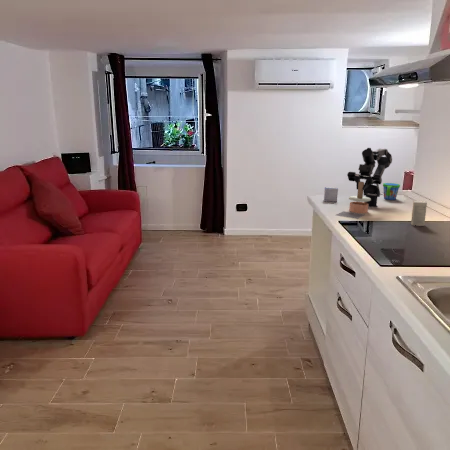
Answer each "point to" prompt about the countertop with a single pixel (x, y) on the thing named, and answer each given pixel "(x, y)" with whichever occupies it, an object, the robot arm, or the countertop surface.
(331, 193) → the medicine box
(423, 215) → the skincare box
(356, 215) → the mat
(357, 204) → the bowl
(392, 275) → the countertop surface
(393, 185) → the snack cup
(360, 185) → the lid
